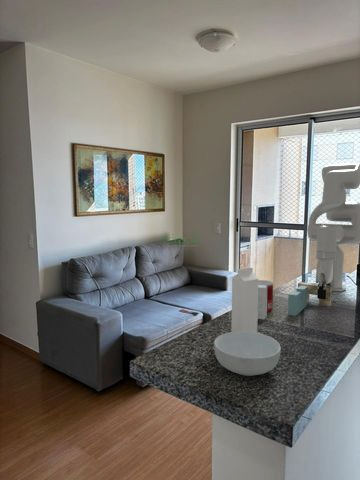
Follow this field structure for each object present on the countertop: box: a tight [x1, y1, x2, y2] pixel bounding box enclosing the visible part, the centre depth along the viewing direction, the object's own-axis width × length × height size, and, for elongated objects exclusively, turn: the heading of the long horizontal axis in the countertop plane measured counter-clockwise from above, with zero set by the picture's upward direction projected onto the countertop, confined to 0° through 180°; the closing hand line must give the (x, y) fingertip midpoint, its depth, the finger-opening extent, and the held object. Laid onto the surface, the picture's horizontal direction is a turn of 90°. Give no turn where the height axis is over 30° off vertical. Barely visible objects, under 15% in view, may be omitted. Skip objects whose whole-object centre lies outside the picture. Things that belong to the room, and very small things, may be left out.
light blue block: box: [287, 286, 308, 317], centre depth 141 cm, size 16×3×8 cm, turn 146°
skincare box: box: [258, 285, 268, 320], centre depth 132 cm, size 6×4×12 cm
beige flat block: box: [297, 281, 333, 307], centre depth 150 cm, size 13×3×8 cm, turn 56°
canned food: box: [258, 279, 274, 313], centre depth 141 cm, size 8×8×11 cm
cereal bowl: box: [213, 331, 282, 377], centre depth 92 cm, size 17×17×7 cm
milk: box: [230, 267, 259, 333], centre depth 114 cm, size 6×6×22 cm
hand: (324, 296), depth 147 cm, fingers open, 9 cm apart
